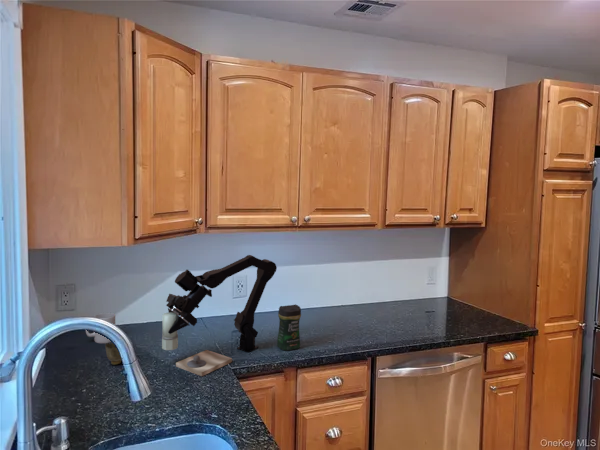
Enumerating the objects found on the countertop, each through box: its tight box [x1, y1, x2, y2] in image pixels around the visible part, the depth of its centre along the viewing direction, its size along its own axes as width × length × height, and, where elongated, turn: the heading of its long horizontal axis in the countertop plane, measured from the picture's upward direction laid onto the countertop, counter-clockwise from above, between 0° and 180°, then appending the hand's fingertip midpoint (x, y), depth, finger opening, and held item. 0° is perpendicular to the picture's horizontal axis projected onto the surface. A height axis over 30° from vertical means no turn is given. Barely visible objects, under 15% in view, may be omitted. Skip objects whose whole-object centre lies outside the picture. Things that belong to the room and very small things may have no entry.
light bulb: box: [161, 311, 179, 351], centre depth 169 cm, size 6×6×13 cm
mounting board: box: [175, 349, 233, 377], centre depth 171 cm, size 16×14×5 cm
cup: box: [104, 342, 122, 366], centre depth 169 cm, size 8×7×8 cm
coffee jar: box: [276, 304, 302, 351], centre depth 190 cm, size 10×8×19 cm
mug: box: [85, 312, 116, 344], centre depth 192 cm, size 12×8×11 cm
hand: (166, 330), depth 169 cm, fingers closed on light bulb, 5 cm apart
